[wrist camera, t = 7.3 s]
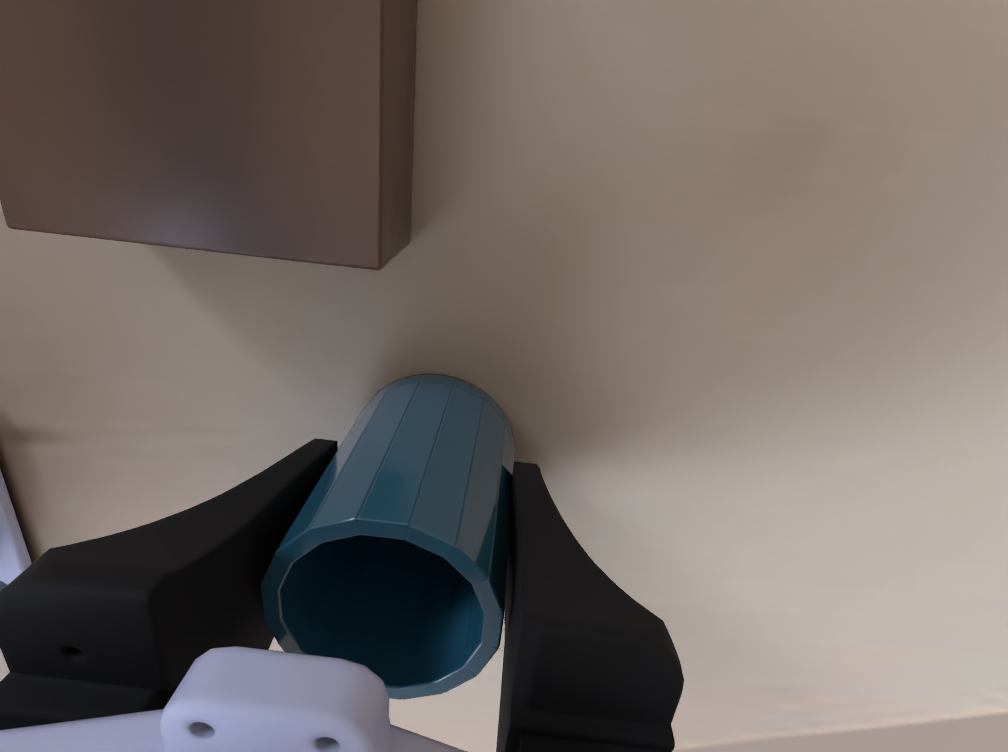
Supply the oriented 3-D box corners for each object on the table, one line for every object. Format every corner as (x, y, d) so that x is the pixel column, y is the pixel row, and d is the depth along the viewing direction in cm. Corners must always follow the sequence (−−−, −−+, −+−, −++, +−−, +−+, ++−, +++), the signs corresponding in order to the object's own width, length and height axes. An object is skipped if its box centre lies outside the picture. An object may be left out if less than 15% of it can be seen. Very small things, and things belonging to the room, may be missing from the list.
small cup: (358, 499, 18) (270, 685, 12) (356, 364, 16) (250, 506, 10) (505, 517, 18) (491, 711, 12) (522, 383, 16) (515, 536, 10)
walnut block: (106, 210, 14) (5, 229, 12) (27, -201, 11) (-140, -308, 8) (410, 244, 14) (380, 271, 12) (422, -158, 11) (385, -251, 8)
